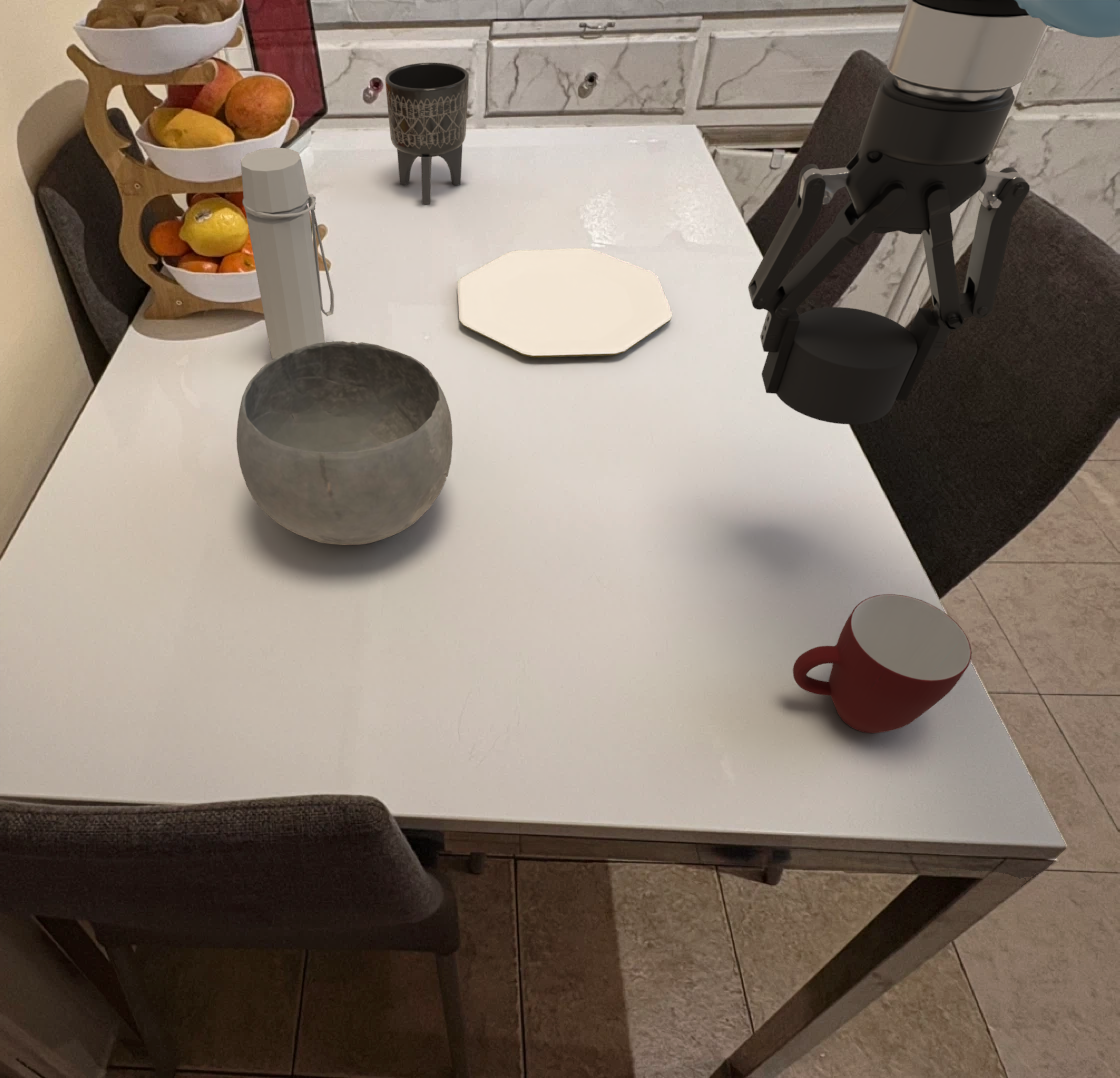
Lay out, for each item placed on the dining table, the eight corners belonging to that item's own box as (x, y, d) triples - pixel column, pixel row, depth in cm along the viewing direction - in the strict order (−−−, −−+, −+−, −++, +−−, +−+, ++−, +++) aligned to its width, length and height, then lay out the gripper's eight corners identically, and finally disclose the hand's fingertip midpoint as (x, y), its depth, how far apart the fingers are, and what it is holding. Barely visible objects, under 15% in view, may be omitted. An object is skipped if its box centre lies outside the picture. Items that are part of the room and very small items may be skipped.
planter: (465, 206, 137) (466, 89, 124) (386, 206, 138) (380, 90, 126) (469, 174, 146) (470, 61, 133) (395, 174, 147) (390, 62, 135)
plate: (685, 361, 103) (687, 350, 102) (461, 366, 105) (461, 356, 104) (644, 255, 123) (646, 245, 122) (455, 261, 124) (455, 251, 123)
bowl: (458, 580, 80) (459, 458, 69) (243, 588, 80) (212, 469, 69) (446, 443, 94) (445, 325, 84) (264, 451, 95) (241, 335, 84)
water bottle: (285, 382, 104) (250, 179, 86) (261, 352, 109) (224, 154, 91) (351, 360, 107) (331, 159, 89) (325, 332, 112) (302, 136, 94)
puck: (907, 383, 68) (933, 328, 64) (871, 439, 63) (896, 382, 59) (796, 349, 72) (814, 295, 69) (754, 398, 67) (771, 343, 64)
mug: (795, 757, 65) (837, 683, 58) (765, 672, 71) (800, 594, 64) (934, 756, 65) (993, 681, 58) (893, 670, 70) (942, 592, 63)
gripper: (1118, 62, 53) (963, 368, 69) (756, 62, 56) (688, 354, 72) (1176, 102, 47) (994, 423, 63) (773, 99, 51) (696, 406, 66)
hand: (832, 387), depth 67 cm, fingers closed on puck, 9 cm apart
